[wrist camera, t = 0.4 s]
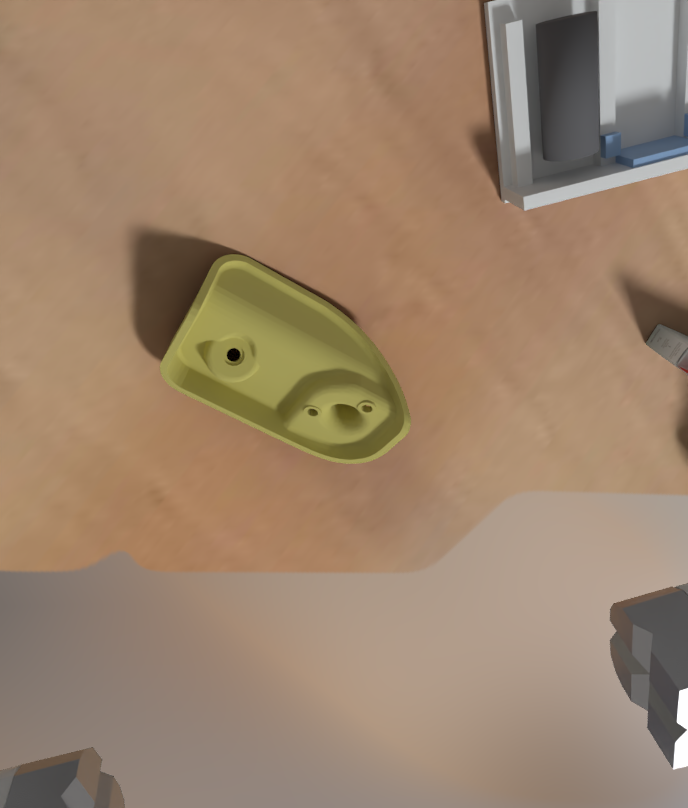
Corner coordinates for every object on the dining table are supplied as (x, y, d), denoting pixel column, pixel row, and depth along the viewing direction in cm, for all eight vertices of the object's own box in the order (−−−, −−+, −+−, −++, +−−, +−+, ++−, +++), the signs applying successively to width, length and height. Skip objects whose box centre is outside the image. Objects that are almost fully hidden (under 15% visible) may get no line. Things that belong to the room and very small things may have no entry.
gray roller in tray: (526, 25, 47) (550, 24, 43) (580, 12, 47) (608, 9, 43) (534, 156, 51) (557, 164, 48) (583, 143, 51) (609, 151, 48)
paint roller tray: (483, 2, 46) (508, -2, 42) (700, -51, 47) (746, -60, 43) (501, 201, 53) (524, 214, 49) (689, 152, 54) (728, 161, 50)
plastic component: (151, 378, 54) (194, 303, 47) (180, 319, 58) (223, 242, 52) (356, 477, 60) (421, 423, 53) (367, 415, 64) (428, 358, 57)
